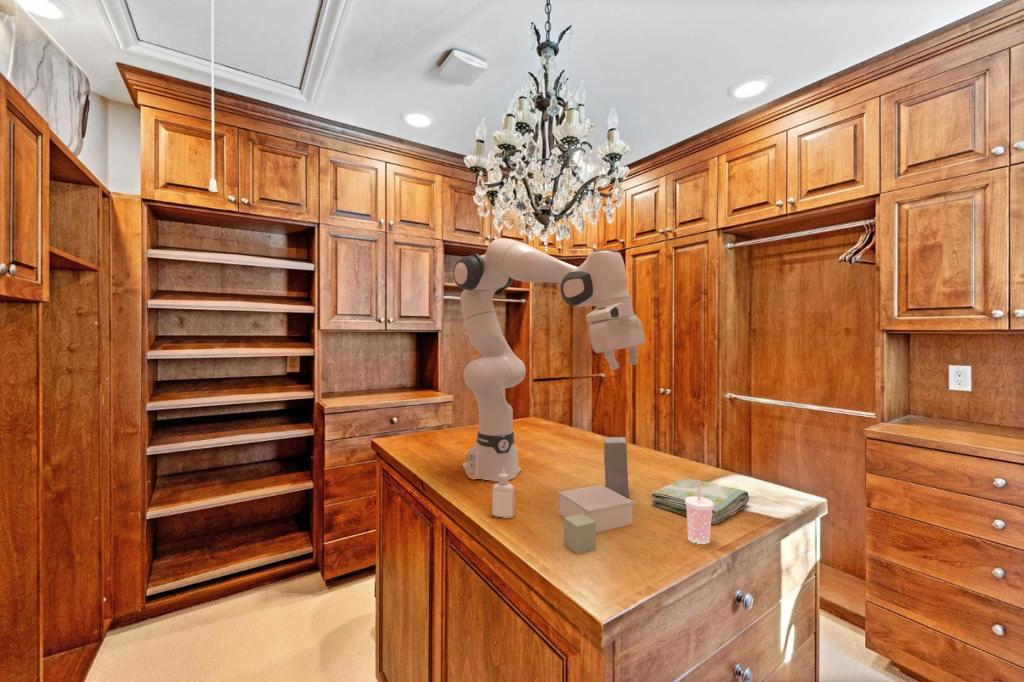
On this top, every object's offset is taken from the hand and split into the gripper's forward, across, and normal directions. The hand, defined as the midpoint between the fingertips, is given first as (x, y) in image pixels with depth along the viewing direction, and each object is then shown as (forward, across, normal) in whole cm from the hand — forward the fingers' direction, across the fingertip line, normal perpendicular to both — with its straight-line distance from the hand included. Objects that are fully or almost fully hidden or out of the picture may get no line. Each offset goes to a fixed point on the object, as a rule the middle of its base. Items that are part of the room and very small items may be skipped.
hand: (624, 366), depth 112 cm
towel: (+42, -20, +3) cm, 47 cm away
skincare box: (+38, -13, -18) cm, 44 cm away
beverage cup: (+42, 0, +11) cm, 43 cm away
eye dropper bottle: (+33, +22, -30) cm, 49 cm away
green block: (+37, +22, -6) cm, 43 cm away
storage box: (+37, +7, -12) cm, 40 cm away
